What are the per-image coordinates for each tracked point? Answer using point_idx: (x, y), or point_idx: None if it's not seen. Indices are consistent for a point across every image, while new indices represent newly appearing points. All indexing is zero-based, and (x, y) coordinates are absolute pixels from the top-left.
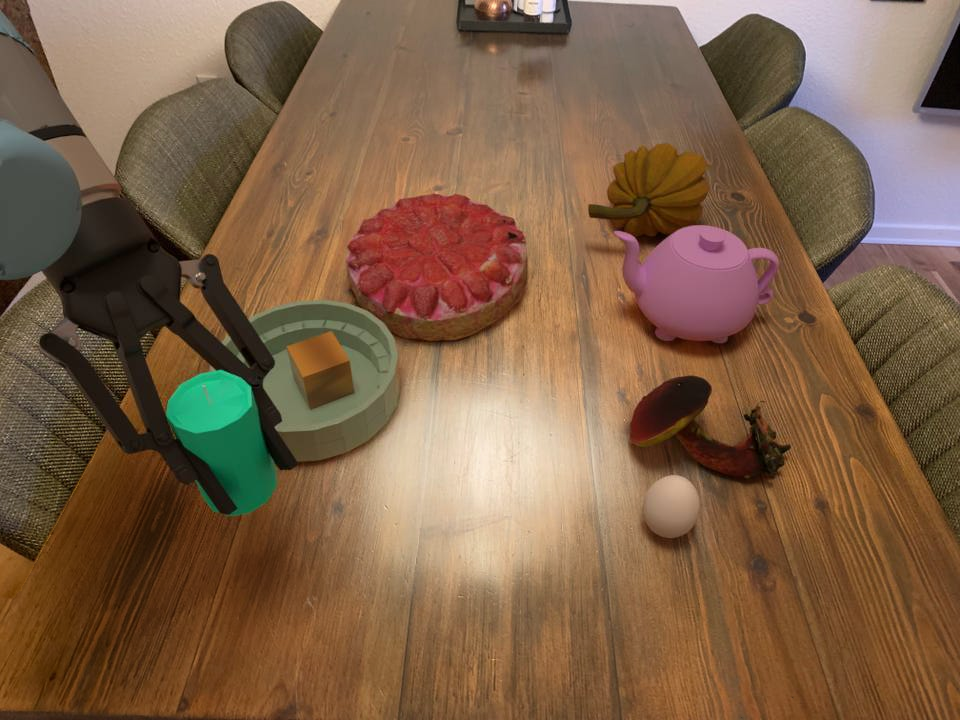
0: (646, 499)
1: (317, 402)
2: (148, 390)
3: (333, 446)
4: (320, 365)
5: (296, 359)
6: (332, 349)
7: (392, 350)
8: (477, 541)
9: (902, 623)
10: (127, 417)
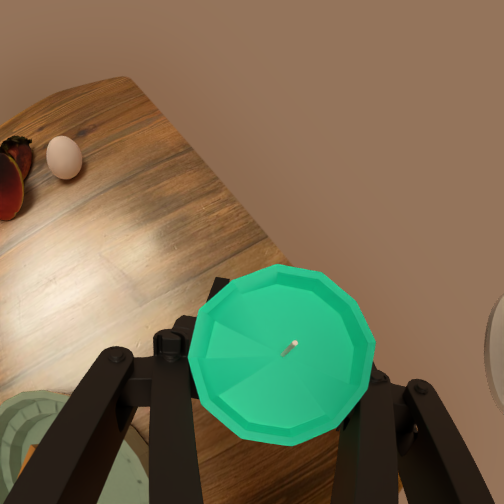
0: (64, 165)
1: None
2: (374, 448)
3: None
4: None
5: None
6: None
7: (2, 410)
8: (128, 262)
9: (94, 91)
10: (425, 423)
